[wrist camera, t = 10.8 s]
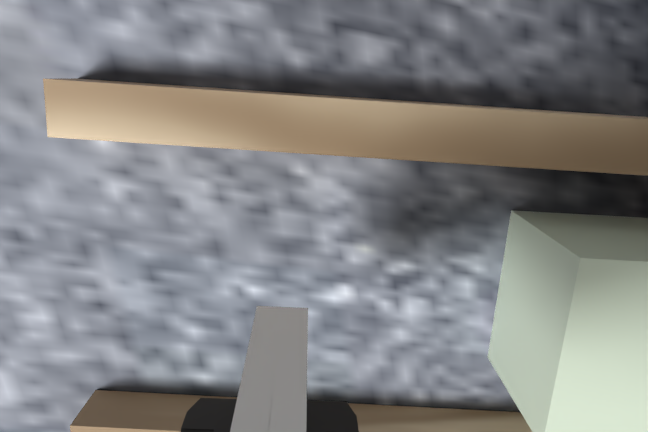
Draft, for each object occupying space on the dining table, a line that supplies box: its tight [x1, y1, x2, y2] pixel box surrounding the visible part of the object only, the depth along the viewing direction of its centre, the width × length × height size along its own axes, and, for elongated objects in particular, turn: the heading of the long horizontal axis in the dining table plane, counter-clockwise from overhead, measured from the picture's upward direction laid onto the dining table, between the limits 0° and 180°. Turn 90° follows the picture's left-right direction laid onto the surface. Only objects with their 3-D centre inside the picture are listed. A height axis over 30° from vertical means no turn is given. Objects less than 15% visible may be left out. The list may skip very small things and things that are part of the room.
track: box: [43, 79, 648, 432], centre depth 20 cm, size 16×28×5 cm, turn 86°
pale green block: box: [488, 210, 648, 432], centre depth 20 cm, size 7×7×6 cm
